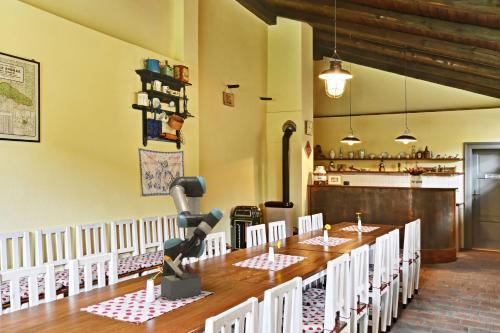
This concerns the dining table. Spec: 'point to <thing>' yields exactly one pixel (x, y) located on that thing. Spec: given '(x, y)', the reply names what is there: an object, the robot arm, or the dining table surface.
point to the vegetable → (189, 269)
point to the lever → (173, 265)
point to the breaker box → (180, 286)
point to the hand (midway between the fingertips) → (174, 264)
